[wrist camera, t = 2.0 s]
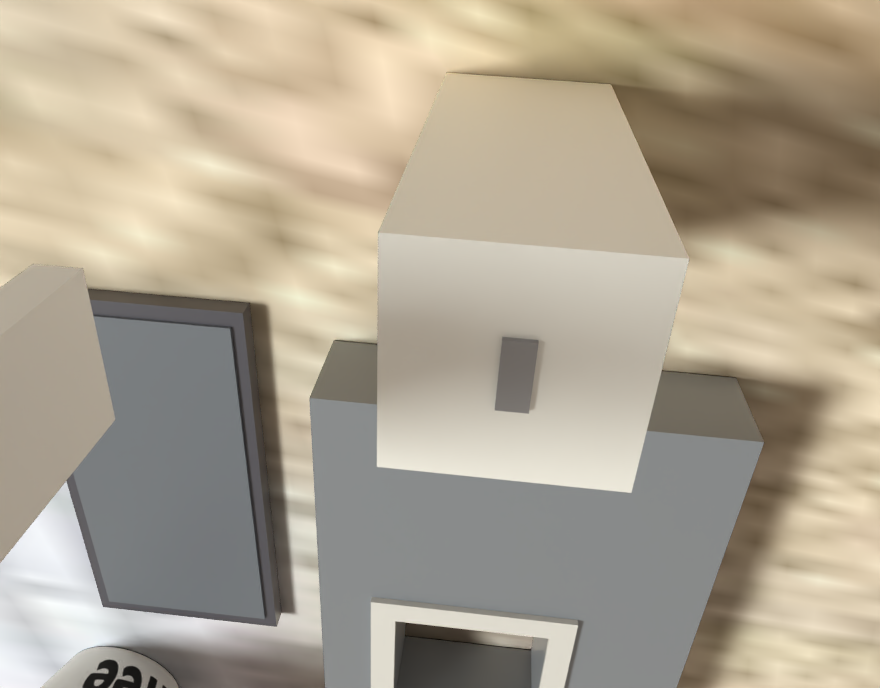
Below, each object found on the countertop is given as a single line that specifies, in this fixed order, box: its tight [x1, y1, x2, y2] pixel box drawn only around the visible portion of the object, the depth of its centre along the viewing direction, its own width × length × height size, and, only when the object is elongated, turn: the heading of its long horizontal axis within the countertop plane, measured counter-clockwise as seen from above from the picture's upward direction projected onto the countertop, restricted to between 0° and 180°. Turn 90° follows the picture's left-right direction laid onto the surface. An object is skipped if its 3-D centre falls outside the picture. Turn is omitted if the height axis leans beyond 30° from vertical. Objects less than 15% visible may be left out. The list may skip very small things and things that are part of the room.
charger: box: [377, 72, 689, 493], centre depth 15 cm, size 4×4×10 cm
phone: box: [66, 289, 281, 627], centre depth 26 cm, size 14×7×1 cm, turn 177°
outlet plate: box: [310, 341, 764, 688], centre depth 26 cm, size 18×12×3 cm, turn 177°
